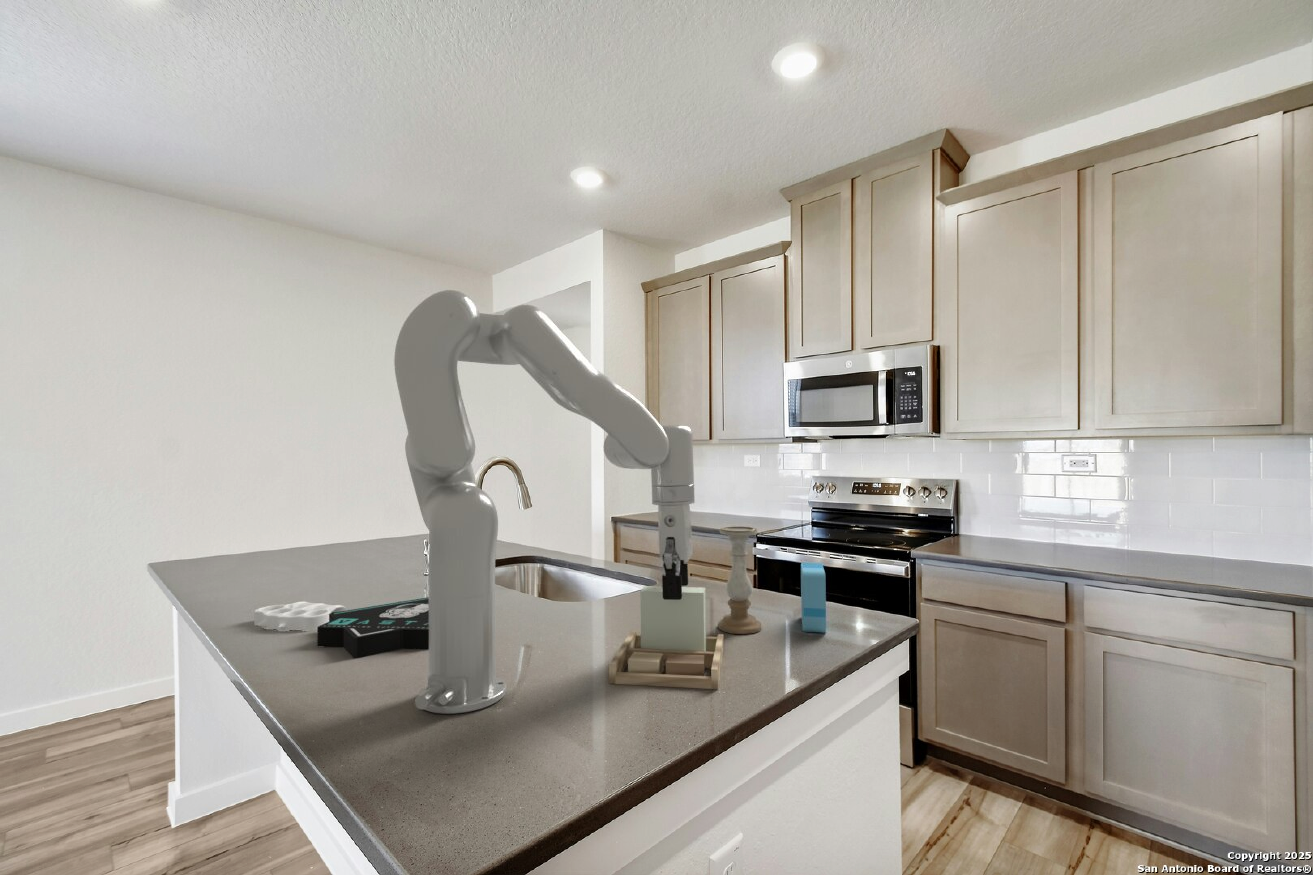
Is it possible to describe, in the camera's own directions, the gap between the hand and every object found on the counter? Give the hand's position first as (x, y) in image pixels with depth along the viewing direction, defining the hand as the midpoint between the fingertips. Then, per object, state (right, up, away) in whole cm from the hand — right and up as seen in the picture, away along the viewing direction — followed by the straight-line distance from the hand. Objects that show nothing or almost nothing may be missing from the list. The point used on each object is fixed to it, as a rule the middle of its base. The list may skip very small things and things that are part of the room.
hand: (676, 591), depth 107 cm
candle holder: (+13, -12, +17) cm, 24 cm away
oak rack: (-1, -11, -5) cm, 12 cm away
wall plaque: (-56, -13, +16) cm, 59 cm away
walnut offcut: (+1, -12, -9) cm, 15 cm away
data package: (+29, -12, +18) cm, 36 cm away
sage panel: (0, -12, 0) cm, 12 cm away
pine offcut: (-5, -12, -8) cm, 15 cm away
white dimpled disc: (-81, -13, +24) cm, 85 cm away
